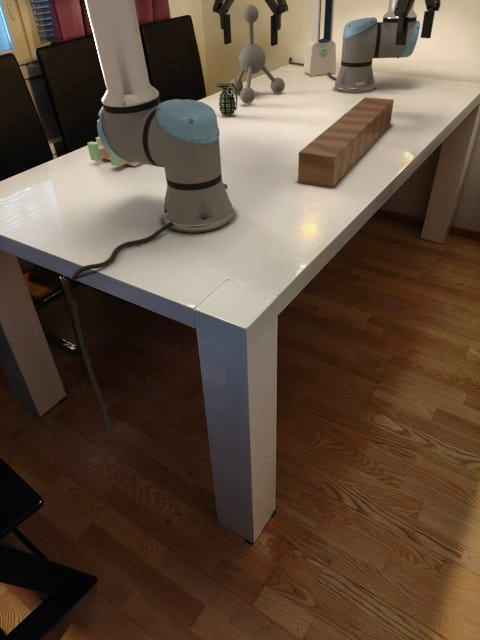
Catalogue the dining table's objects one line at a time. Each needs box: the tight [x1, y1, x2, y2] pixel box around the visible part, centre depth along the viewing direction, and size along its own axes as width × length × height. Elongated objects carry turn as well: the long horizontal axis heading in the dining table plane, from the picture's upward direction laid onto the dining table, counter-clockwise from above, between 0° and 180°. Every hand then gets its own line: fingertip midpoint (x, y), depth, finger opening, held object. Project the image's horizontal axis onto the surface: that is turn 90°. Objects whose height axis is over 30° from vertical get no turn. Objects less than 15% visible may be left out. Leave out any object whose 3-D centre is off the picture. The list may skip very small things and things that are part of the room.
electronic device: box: [303, 0, 337, 77], centre depth 205 cm, size 12×8×30 cm, turn 105°
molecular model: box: [229, 4, 286, 105], centre depth 179 cm, size 24×22×30 cm
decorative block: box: [86, 136, 142, 168], centre depth 141 cm, size 26×6×20 cm
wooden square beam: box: [297, 96, 395, 189], centre depth 134 cm, size 53×9×8 cm, turn 152°
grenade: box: [215, 82, 238, 117], centre depth 166 cm, size 7×6×10 cm
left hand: (250, 44), depth 128 cm, fingers open, 13 cm apart
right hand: (413, 41), depth 137 cm, fingers open, 13 cm apart
